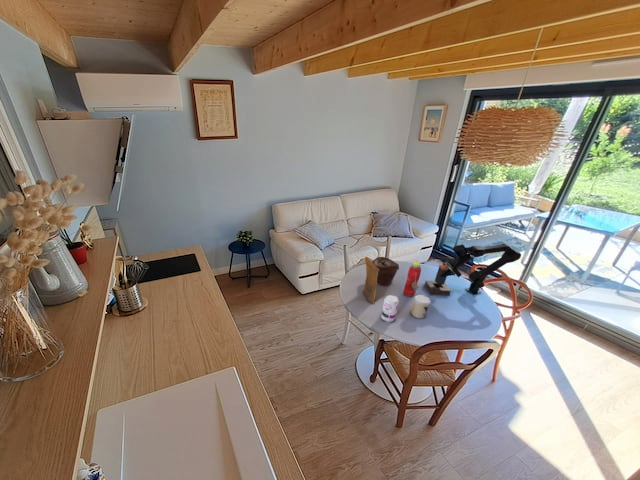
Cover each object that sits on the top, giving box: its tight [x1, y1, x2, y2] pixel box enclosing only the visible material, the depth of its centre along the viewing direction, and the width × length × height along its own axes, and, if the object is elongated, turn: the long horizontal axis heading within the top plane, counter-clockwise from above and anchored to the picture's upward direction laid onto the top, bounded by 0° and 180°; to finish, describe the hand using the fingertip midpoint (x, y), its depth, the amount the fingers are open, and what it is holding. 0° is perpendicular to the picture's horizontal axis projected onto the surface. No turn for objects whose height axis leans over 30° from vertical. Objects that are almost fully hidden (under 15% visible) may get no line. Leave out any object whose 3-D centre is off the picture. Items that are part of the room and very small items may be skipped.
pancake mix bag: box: [363, 255, 379, 304], centre depth 191 cm, size 7×19×28 cm, turn 2°
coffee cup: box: [410, 294, 431, 319], centre depth 177 cm, size 9×9×12 cm
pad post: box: [434, 264, 451, 284], centre depth 196 cm, size 5×5×13 cm
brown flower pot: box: [372, 256, 400, 287], centre depth 211 cm, size 18×20×18 cm
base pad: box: [424, 280, 452, 296], centre depth 203 cm, size 13×13×4 cm
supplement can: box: [380, 294, 400, 323], centre depth 173 cm, size 8×8×15 cm
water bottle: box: [403, 261, 422, 297], centre depth 192 cm, size 12×8×25 cm, turn 167°
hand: (439, 274), depth 196 cm, fingers closed on pad post, 5 cm apart
